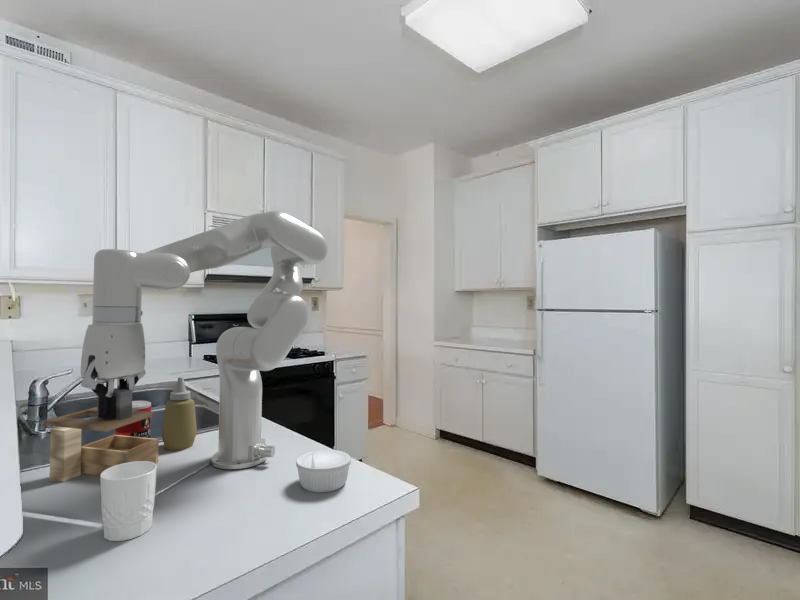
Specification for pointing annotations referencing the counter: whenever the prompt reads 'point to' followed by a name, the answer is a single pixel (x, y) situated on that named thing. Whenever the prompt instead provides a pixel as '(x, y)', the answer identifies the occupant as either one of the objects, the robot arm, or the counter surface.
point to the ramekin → (323, 470)
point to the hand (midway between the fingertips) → (114, 414)
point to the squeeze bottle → (179, 419)
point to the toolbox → (117, 452)
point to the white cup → (128, 499)
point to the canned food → (139, 427)
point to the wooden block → (65, 453)
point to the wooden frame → (101, 424)
